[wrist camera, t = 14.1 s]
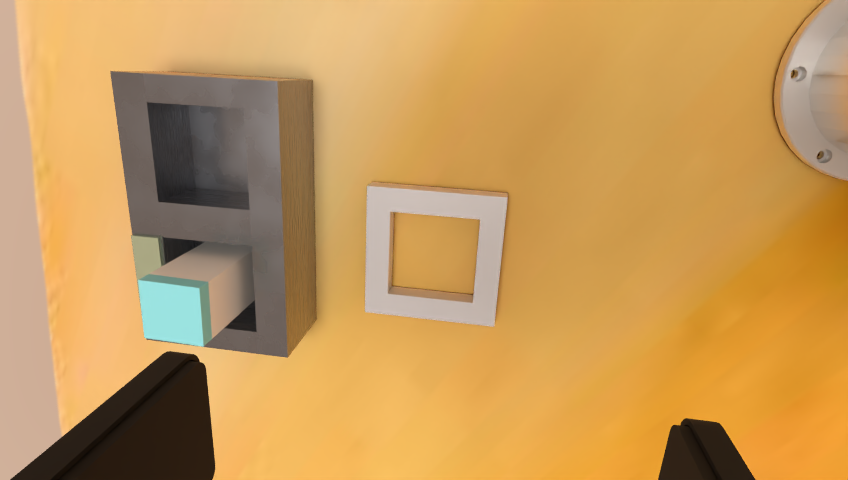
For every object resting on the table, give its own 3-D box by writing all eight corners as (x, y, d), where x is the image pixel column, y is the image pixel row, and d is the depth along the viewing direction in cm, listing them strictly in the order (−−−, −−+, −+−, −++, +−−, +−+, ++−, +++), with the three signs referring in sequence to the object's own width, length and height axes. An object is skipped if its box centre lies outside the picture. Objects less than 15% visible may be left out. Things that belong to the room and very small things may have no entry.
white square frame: (507, 192, 37) (507, 197, 36) (494, 317, 40) (494, 326, 39) (371, 181, 38) (367, 185, 37) (369, 303, 41) (364, 311, 40)
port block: (312, 79, 36) (275, 81, 31) (316, 319, 42) (285, 359, 37) (169, 71, 38) (106, 71, 32) (192, 305, 44) (143, 341, 38)
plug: (264, 241, 39) (199, 288, 31) (266, 289, 41) (203, 346, 32) (215, 236, 40) (137, 279, 31) (218, 283, 41) (144, 337, 33)
